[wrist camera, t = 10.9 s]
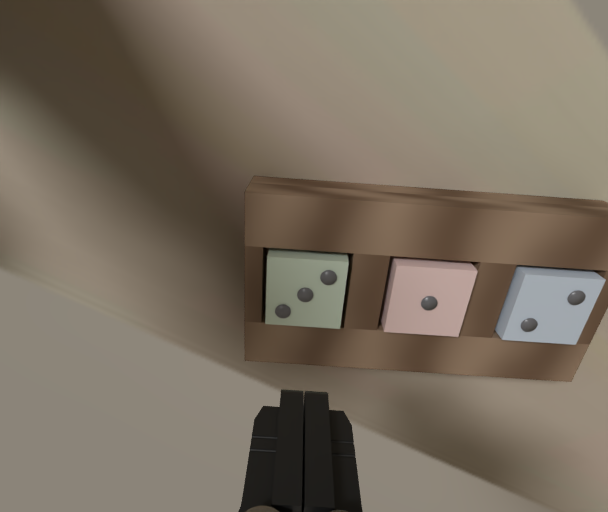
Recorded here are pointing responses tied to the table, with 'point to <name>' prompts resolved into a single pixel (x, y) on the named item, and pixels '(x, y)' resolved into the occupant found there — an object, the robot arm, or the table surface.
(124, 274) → the table surface
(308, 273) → the three-pip button
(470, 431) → the table surface
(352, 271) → the button panel
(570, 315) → the two-pip button
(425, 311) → the one-pip button
